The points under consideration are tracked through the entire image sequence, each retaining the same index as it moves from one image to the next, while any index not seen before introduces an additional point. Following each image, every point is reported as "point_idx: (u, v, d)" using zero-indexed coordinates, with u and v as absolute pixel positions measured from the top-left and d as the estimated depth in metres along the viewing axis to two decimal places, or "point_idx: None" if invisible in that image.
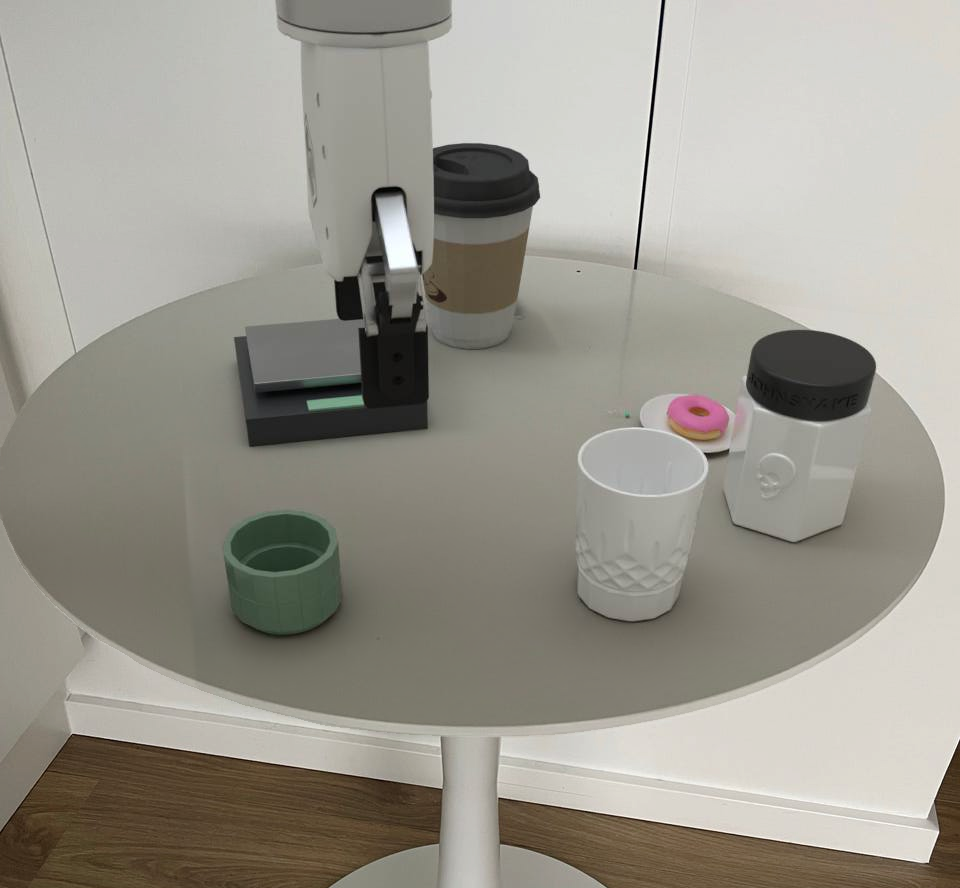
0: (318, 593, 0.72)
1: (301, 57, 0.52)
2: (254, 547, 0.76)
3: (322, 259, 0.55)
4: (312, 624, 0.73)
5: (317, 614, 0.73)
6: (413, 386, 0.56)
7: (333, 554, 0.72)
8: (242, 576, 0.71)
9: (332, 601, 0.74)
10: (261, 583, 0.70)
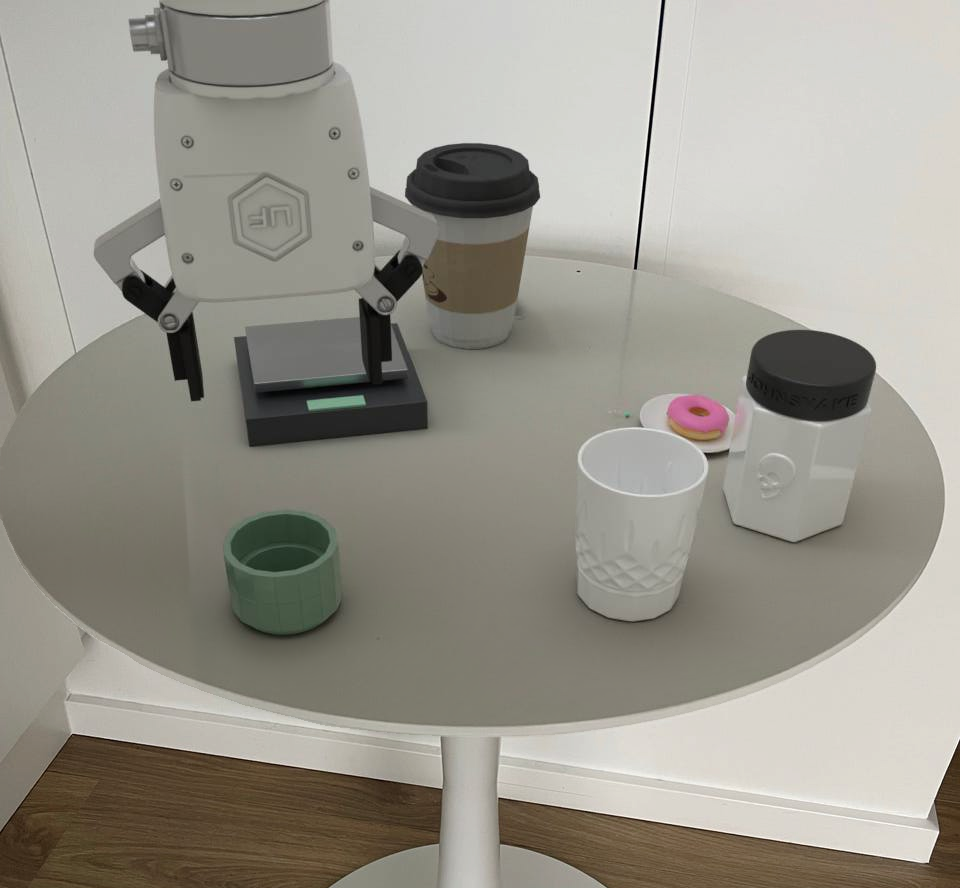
0: (318, 593, 0.72)
1: (229, 130, 0.53)
2: (254, 547, 0.76)
3: (322, 288, 0.59)
4: (312, 624, 0.73)
5: (317, 614, 0.73)
6: None
7: (333, 554, 0.72)
8: (242, 576, 0.71)
9: (332, 601, 0.74)
10: (261, 583, 0.70)
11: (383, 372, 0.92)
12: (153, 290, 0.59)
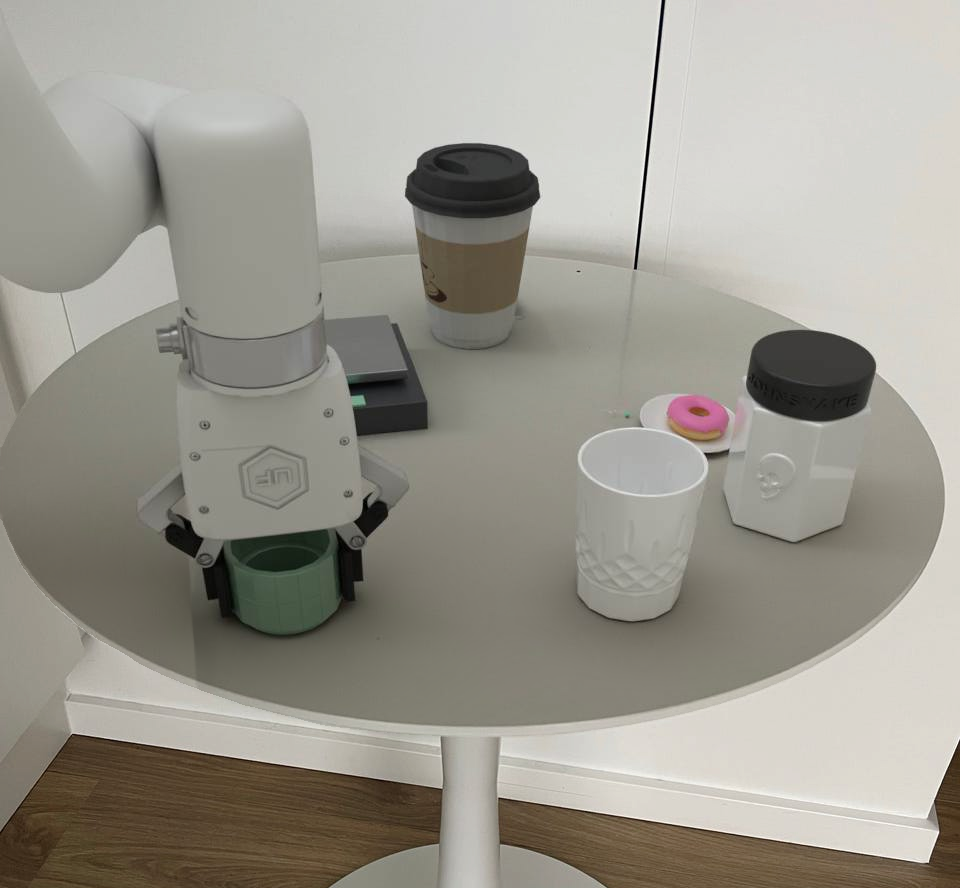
0: (318, 593, 0.72)
1: (240, 415, 0.63)
2: (254, 547, 0.76)
3: (317, 527, 0.69)
4: (312, 624, 0.73)
5: (317, 614, 0.73)
6: None
7: (333, 554, 0.72)
8: (242, 576, 0.71)
9: (332, 601, 0.74)
10: (261, 583, 0.70)
11: (383, 372, 0.92)
12: (191, 534, 0.70)
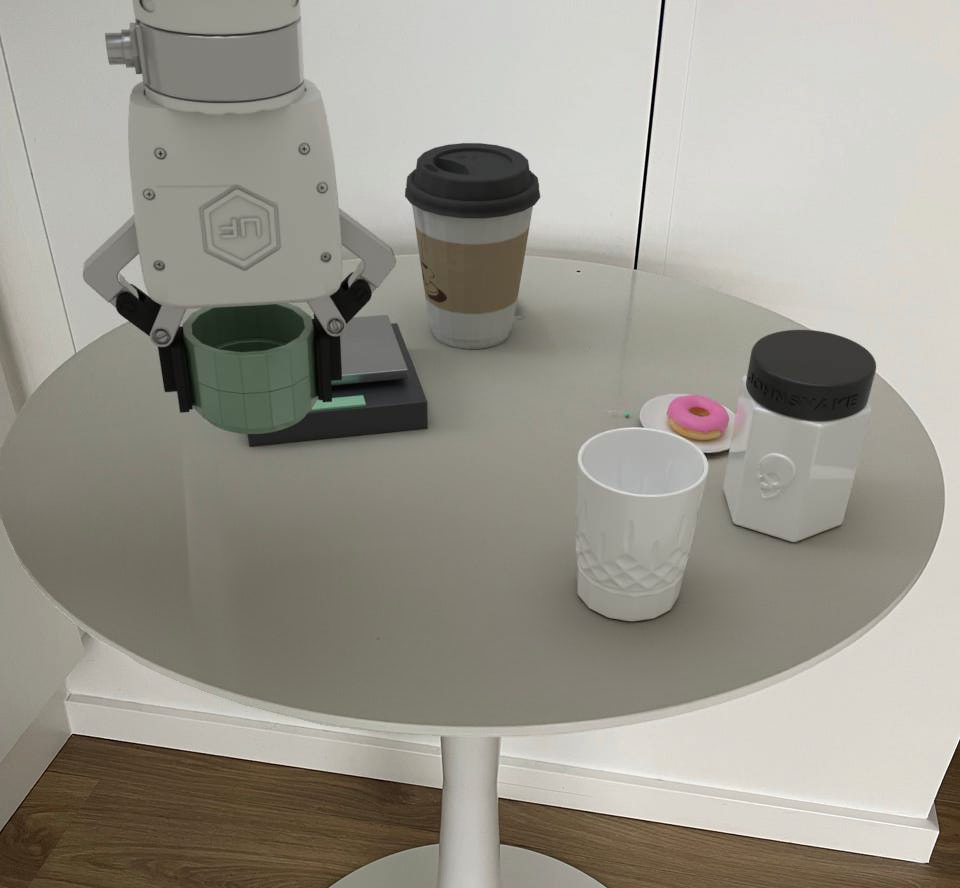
0: (290, 383, 0.63)
1: (201, 143, 0.55)
2: (219, 340, 0.67)
3: (290, 297, 0.61)
4: (282, 422, 0.65)
5: (288, 410, 0.64)
6: None
7: (308, 339, 0.63)
8: (203, 357, 0.62)
9: (306, 398, 0.65)
10: (224, 365, 0.62)
11: (383, 372, 0.92)
12: (146, 305, 0.61)
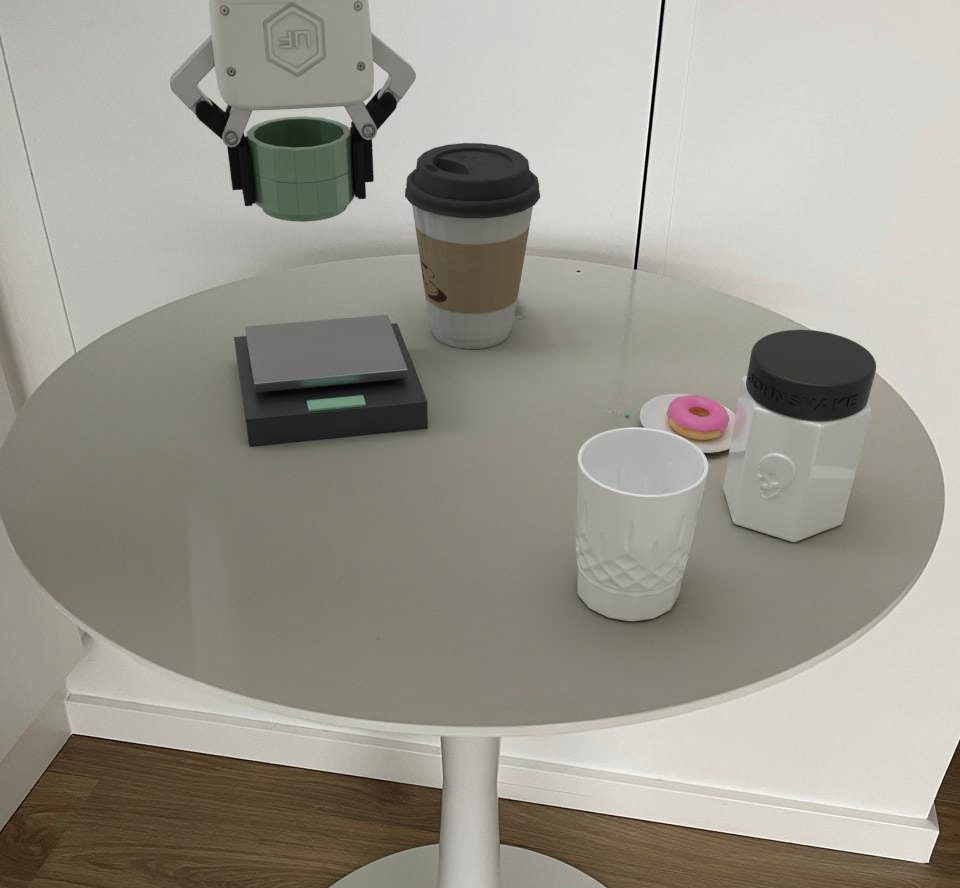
0: (333, 176, 0.80)
1: None
2: None
3: (333, 100, 0.77)
4: (327, 210, 0.81)
5: (332, 200, 0.80)
6: None
7: (347, 140, 0.79)
8: (264, 153, 0.78)
9: (345, 192, 0.81)
10: (281, 158, 0.78)
11: (383, 372, 0.92)
12: (219, 112, 0.78)
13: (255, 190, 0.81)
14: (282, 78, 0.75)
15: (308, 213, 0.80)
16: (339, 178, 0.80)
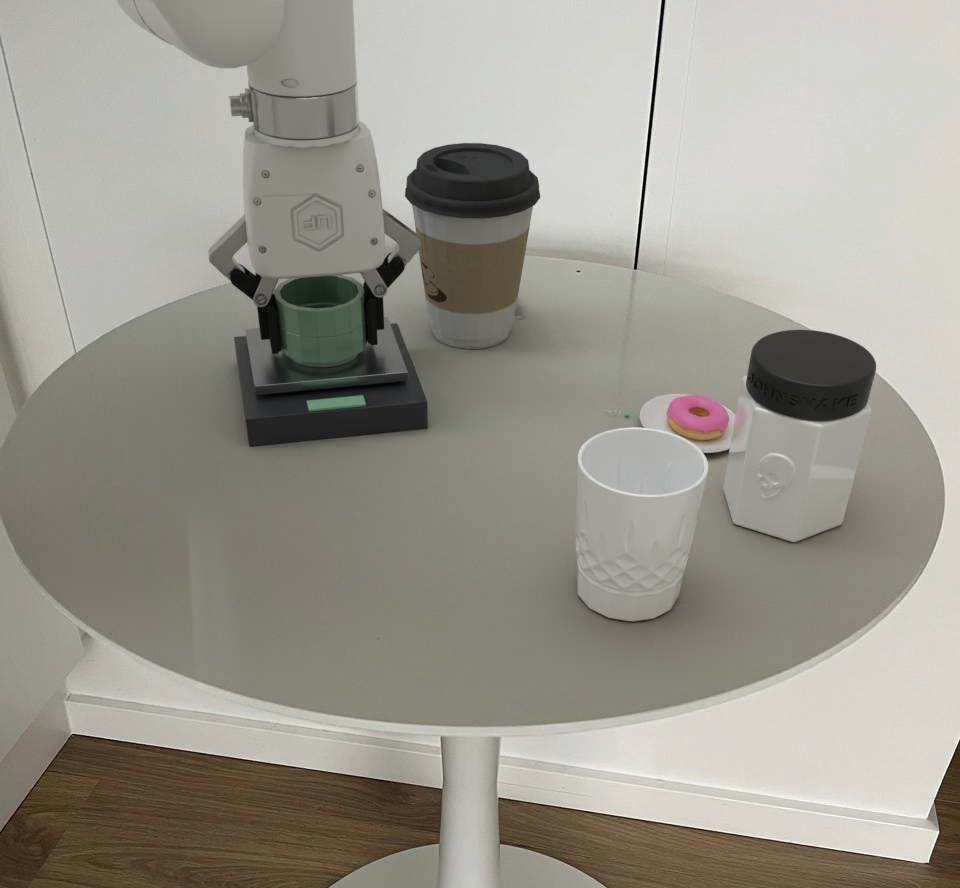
0: (349, 330, 0.91)
1: (292, 166, 0.83)
2: (297, 303, 0.95)
3: (350, 269, 0.88)
4: (344, 358, 0.92)
5: (348, 349, 0.92)
6: None
7: (361, 299, 0.91)
8: (290, 313, 0.90)
9: (360, 341, 0.93)
10: (305, 317, 0.90)
11: (383, 374, 0.92)
12: (250, 278, 0.89)
13: (281, 340, 0.93)
14: (306, 253, 0.87)
15: (327, 361, 0.92)
16: (354, 331, 0.92)
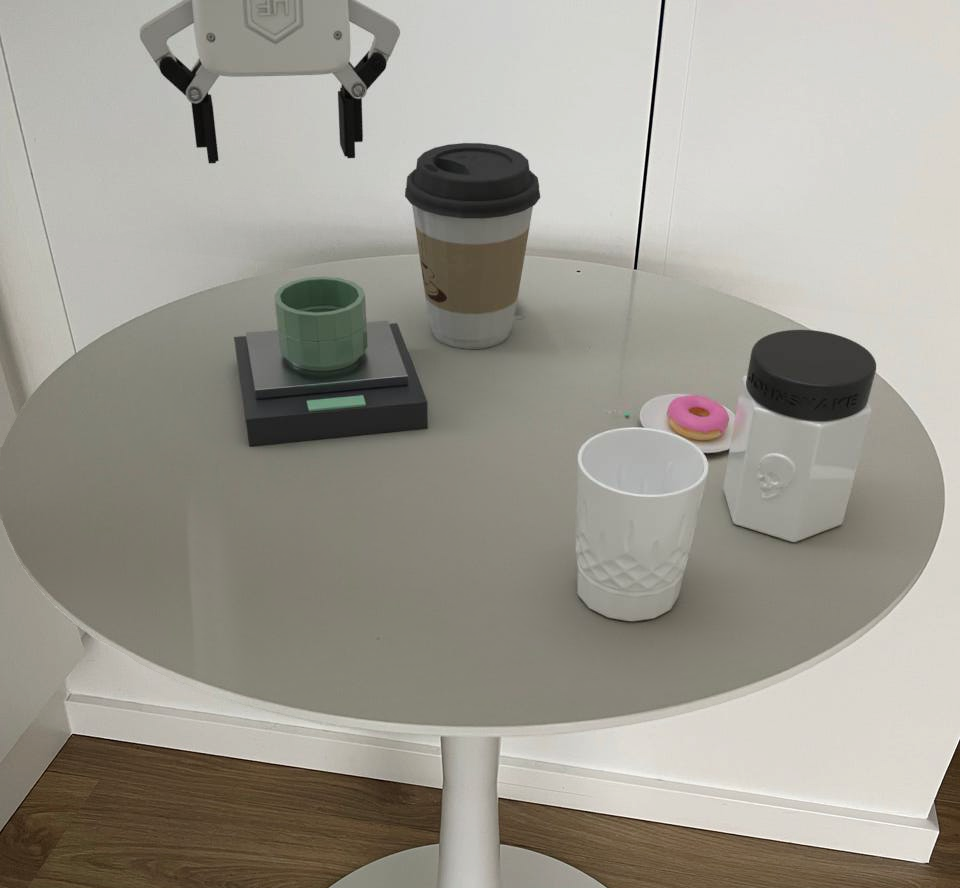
0: (349, 334, 0.91)
1: None
2: (297, 307, 0.95)
3: (310, 68, 0.79)
4: (344, 361, 0.93)
5: (348, 353, 0.92)
6: None
7: (361, 303, 0.91)
8: (290, 317, 0.90)
9: (360, 345, 0.93)
10: (305, 321, 0.90)
11: (383, 378, 0.92)
12: (183, 68, 0.79)
13: (281, 344, 0.93)
14: (260, 45, 0.77)
15: (328, 365, 0.92)
16: (355, 335, 0.92)
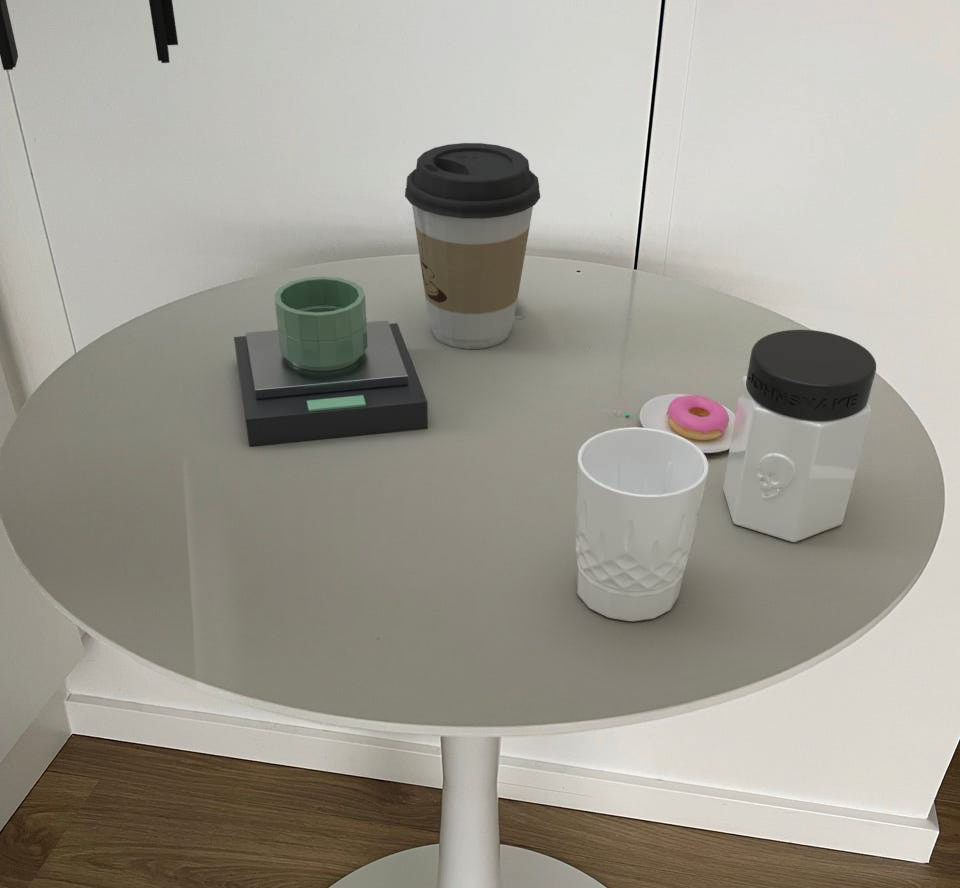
0: (349, 334, 0.91)
1: None
2: (297, 307, 0.95)
3: None
4: (344, 361, 0.93)
5: (348, 353, 0.92)
6: None
7: (361, 303, 0.91)
8: (290, 317, 0.90)
9: (360, 345, 0.93)
10: (305, 321, 0.90)
11: (383, 378, 0.92)
12: None
13: (281, 344, 0.93)
14: None
15: (328, 365, 0.92)
16: (355, 335, 0.92)
